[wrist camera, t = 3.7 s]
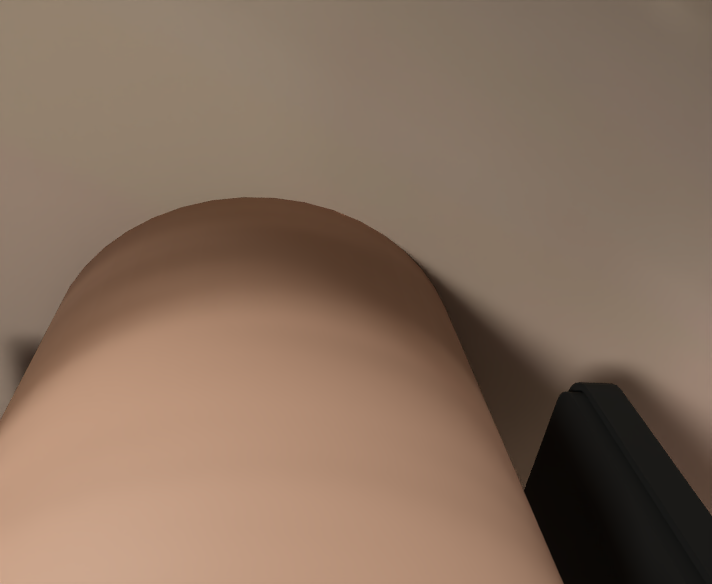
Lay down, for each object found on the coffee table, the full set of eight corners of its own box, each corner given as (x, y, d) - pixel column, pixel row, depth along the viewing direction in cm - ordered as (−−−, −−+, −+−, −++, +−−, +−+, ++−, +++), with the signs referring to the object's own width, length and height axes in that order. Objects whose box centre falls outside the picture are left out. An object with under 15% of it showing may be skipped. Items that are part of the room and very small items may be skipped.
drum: (24, 176, 8) (-349, 601, 3) (494, 215, 10) (758, 582, 4) (67, 516, 12) (-92, 1000, 7) (416, 517, 13) (514, 935, 8)
